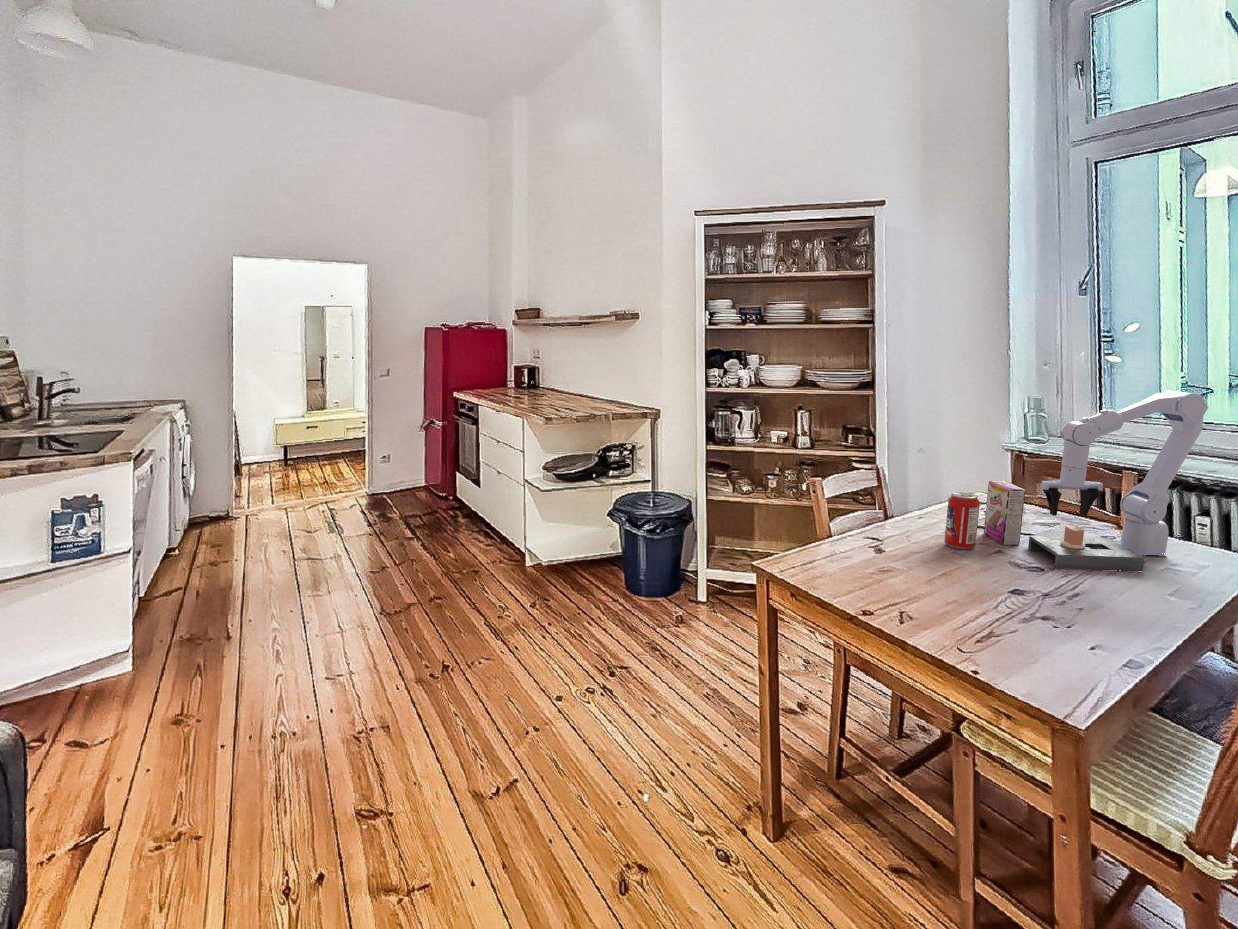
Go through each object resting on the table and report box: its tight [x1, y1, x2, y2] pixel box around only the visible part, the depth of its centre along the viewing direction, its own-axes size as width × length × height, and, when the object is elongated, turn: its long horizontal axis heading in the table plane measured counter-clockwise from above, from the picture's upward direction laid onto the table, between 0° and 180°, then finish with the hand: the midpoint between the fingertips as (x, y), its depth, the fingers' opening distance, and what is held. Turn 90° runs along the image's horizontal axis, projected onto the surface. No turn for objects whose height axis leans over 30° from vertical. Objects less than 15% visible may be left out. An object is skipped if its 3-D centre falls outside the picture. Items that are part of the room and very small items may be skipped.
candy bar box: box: [983, 480, 1026, 546], centre depth 193 cm, size 11×5×16 cm, turn 179°
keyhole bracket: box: [1027, 535, 1146, 572], centre depth 176 cm, size 20×16×4 cm
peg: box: [1060, 525, 1085, 549], centre depth 176 cm, size 5×5×7 cm
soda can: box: [943, 491, 981, 551], centre depth 187 cm, size 8×8×15 cm
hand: (1068, 515), depth 183 cm, fingers open, 7 cm apart
